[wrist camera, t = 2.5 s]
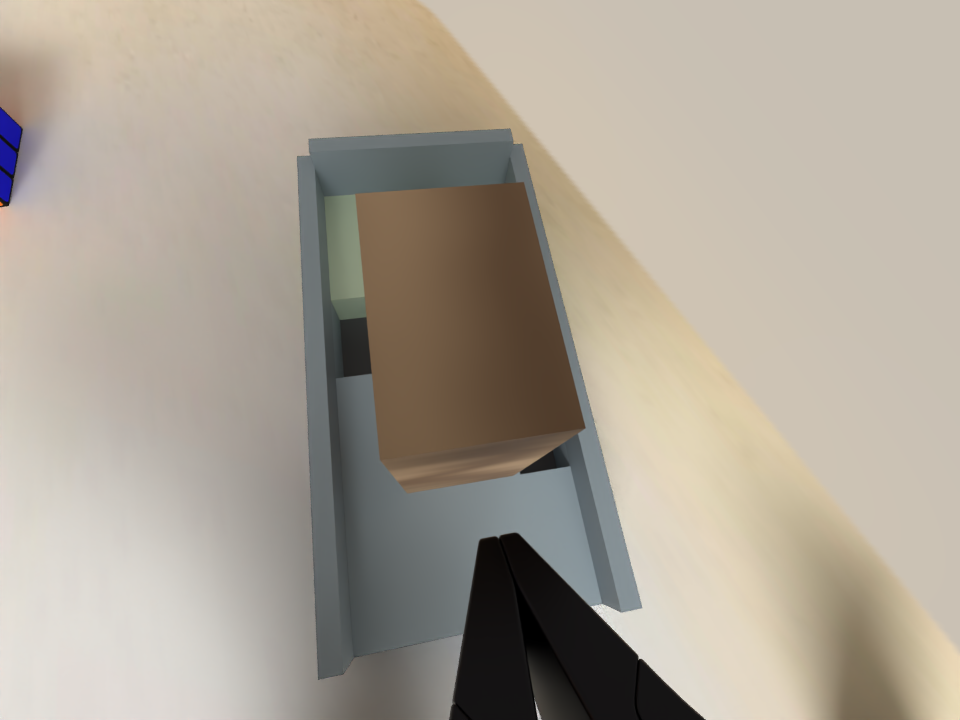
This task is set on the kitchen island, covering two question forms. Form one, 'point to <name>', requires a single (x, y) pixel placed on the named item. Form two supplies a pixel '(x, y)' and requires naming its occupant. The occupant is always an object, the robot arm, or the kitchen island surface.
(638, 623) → the kitchen island surface
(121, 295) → the kitchen island surface
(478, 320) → the walnut block
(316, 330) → the tray
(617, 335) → the kitchen island surface
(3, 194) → the rubik's cube
